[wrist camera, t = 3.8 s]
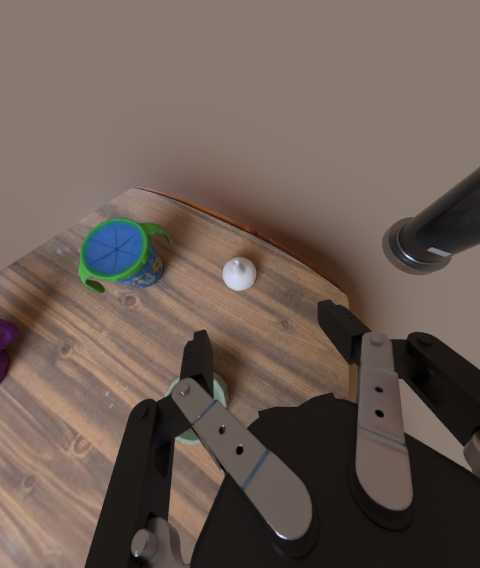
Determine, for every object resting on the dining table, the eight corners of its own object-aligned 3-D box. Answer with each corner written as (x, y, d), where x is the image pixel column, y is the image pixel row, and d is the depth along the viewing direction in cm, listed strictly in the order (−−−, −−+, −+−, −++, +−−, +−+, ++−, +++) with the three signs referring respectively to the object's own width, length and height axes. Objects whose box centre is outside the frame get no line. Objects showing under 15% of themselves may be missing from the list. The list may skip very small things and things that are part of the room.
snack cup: (168, 231, 42) (144, 198, 33) (192, 270, 40) (173, 246, 30) (101, 270, 41) (54, 246, 31) (120, 313, 38) (76, 302, 28)
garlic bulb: (259, 266, 39) (262, 247, 32) (251, 296, 37) (251, 283, 30) (229, 258, 40) (224, 238, 32) (219, 287, 38) (212, 273, 31)
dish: (222, 362, 34) (218, 365, 30) (234, 421, 32) (231, 435, 27) (171, 375, 34) (159, 380, 29) (179, 435, 31) (166, 452, 27)
